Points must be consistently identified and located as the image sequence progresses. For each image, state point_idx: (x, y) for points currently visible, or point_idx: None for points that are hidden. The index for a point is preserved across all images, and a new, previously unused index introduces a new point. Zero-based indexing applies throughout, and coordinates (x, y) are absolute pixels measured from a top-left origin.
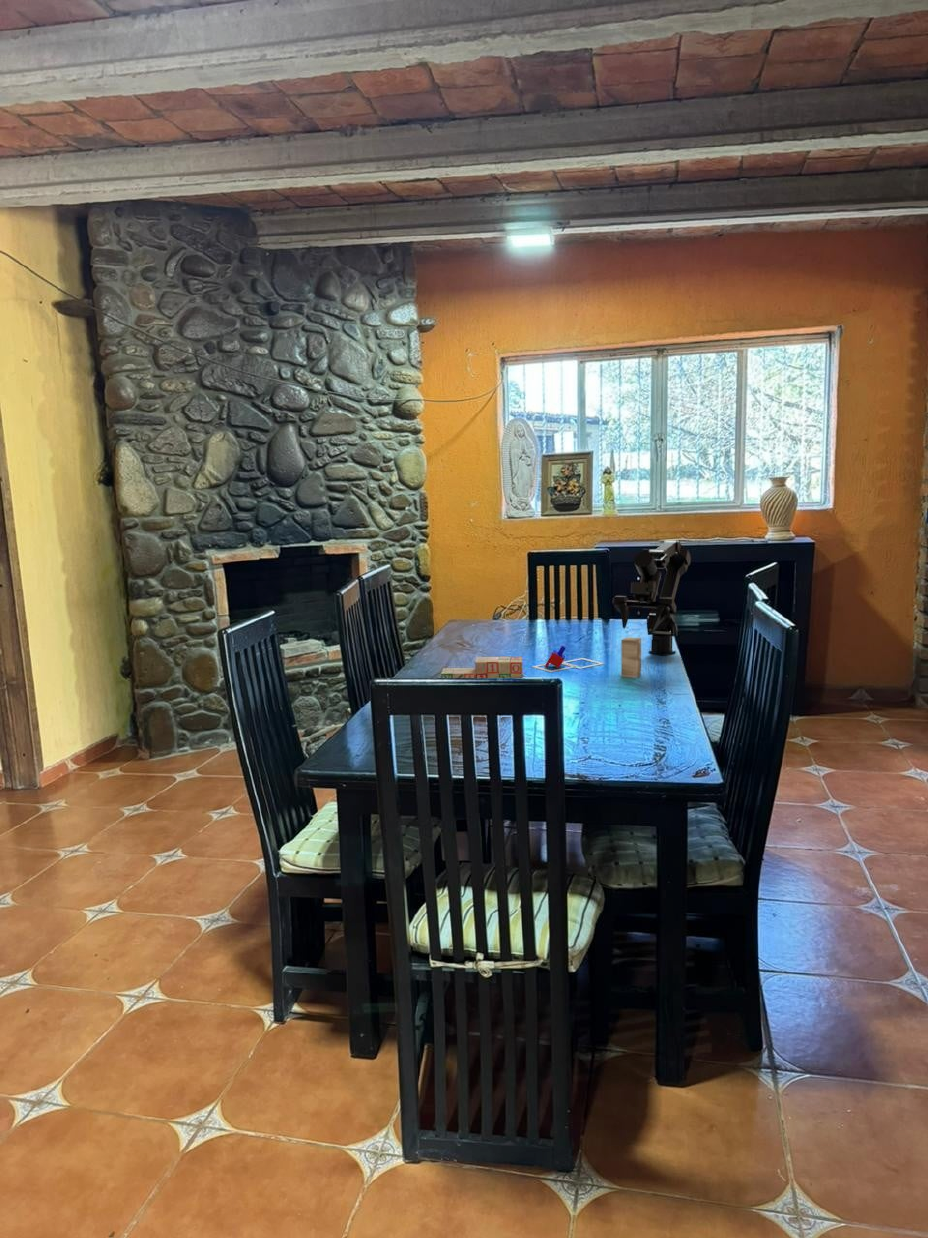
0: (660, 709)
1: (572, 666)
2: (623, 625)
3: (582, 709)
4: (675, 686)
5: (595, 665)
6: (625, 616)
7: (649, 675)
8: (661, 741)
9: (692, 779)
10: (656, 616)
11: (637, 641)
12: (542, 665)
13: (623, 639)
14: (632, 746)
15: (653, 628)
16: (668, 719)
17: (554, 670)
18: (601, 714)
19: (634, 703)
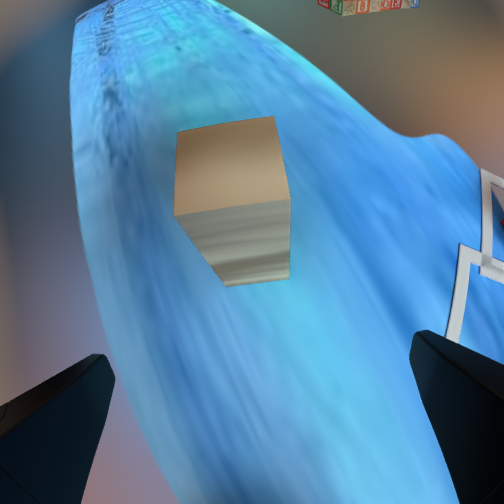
0: (110, 71)
1: (491, 258)
2: (427, 336)
3: (229, 19)
4: (89, 202)
5: (449, 320)
6: (489, 419)
7: (190, 288)
8: (107, 23)
9: (88, 11)
10: (5, 417)
11: (178, 152)
12: None
13: (269, 130)
14: (133, 6)
15: (92, 356)
16: (99, 56)
17: (487, 186)
18: (192, 21)
19: (156, 65)
